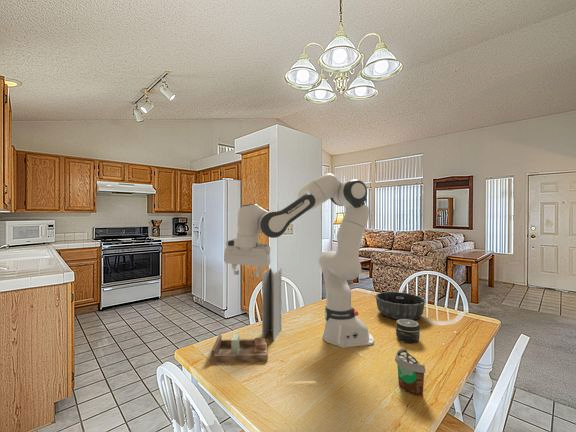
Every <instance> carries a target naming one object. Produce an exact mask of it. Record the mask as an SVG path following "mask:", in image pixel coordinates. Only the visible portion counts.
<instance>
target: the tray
mask: <svg viewBox="0 0 576 432" xmlns="http://www.w3.org/2000/svg"><path fill="white" fill-rule="evenodd" d="M222 338H223V336H222V334H219V335H218V336H217V338H216V341H215V343H214V345H213V346H212V349H211V351H210V352H211V355H210V356H211V361H210V363H216V364H217V363H252V362H254V363H255V362H256V363H258V362H260V363H262V362H266V363H267V362H268V359H269V357H268V356H269V338H264V339H265V343H267V349H266V354H254V349H255V338H246V339H244V338H243V339H241V338H239V353H238V354H231V340H232V339H222Z"/></svg>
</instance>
